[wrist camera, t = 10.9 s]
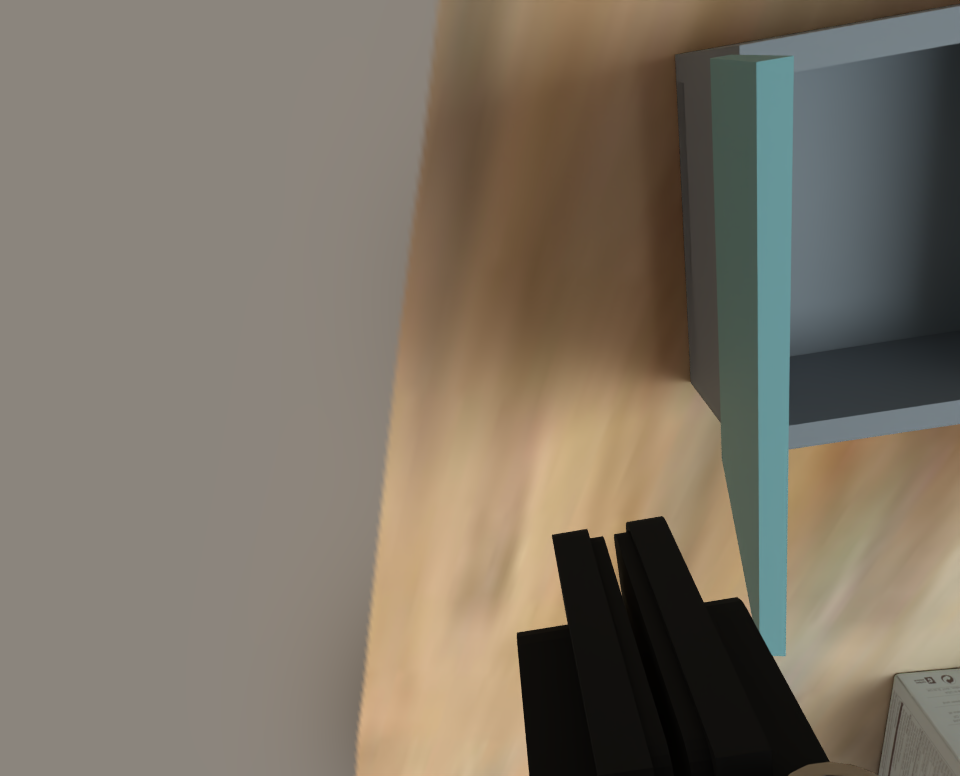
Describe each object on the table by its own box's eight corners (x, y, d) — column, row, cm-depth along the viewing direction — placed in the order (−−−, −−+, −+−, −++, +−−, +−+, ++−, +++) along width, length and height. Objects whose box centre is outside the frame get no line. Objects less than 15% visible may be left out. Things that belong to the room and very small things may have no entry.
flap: (731, 54, 20) (710, 58, 21) (793, 55, 12) (756, 62, 12) (738, 458, 26) (722, 458, 26) (785, 656, 17) (759, 655, 17)
